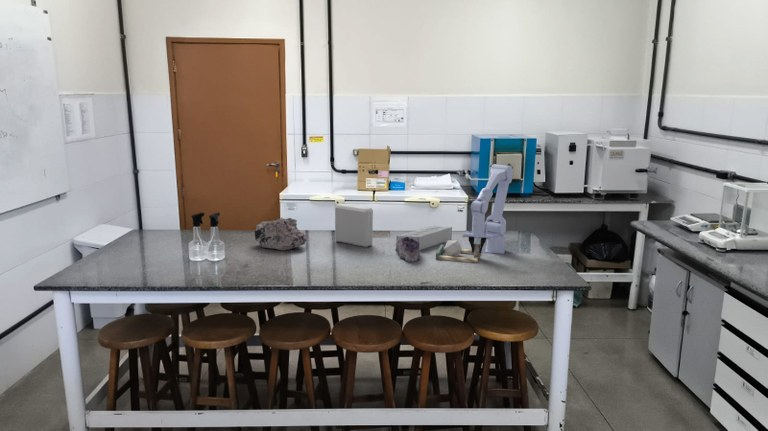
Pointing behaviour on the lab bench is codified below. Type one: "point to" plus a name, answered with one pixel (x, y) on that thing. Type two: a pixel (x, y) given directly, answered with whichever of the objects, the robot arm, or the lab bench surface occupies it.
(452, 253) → the die
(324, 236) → the lab bench surface
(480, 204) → the robot arm
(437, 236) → the long grey block
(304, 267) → the lab bench surface
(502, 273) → the lab bench surface
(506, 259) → the lab bench surface
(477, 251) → the tan frame
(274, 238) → the mineral sample
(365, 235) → the grey thick block
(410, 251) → the geode
